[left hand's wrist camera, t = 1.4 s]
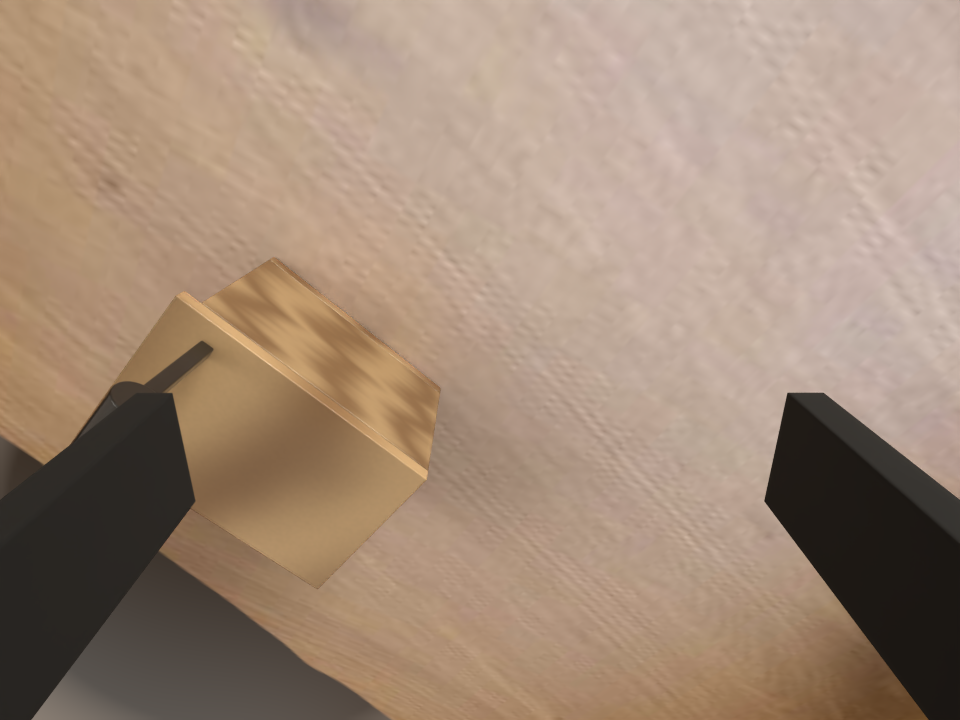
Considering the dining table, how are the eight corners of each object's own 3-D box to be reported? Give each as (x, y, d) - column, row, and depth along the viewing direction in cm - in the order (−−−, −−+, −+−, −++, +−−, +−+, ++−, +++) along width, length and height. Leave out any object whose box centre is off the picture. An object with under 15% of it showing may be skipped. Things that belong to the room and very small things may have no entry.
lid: (86, 427, 30) (-44, 527, 23) (184, 290, 27) (73, 351, 20) (321, 579, 34) (275, 707, 26) (428, 470, 31) (411, 580, 23)
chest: (194, 361, 40) (102, 437, 30) (274, 256, 37) (201, 302, 28) (357, 477, 43) (321, 578, 34) (441, 388, 41) (428, 470, 31)
